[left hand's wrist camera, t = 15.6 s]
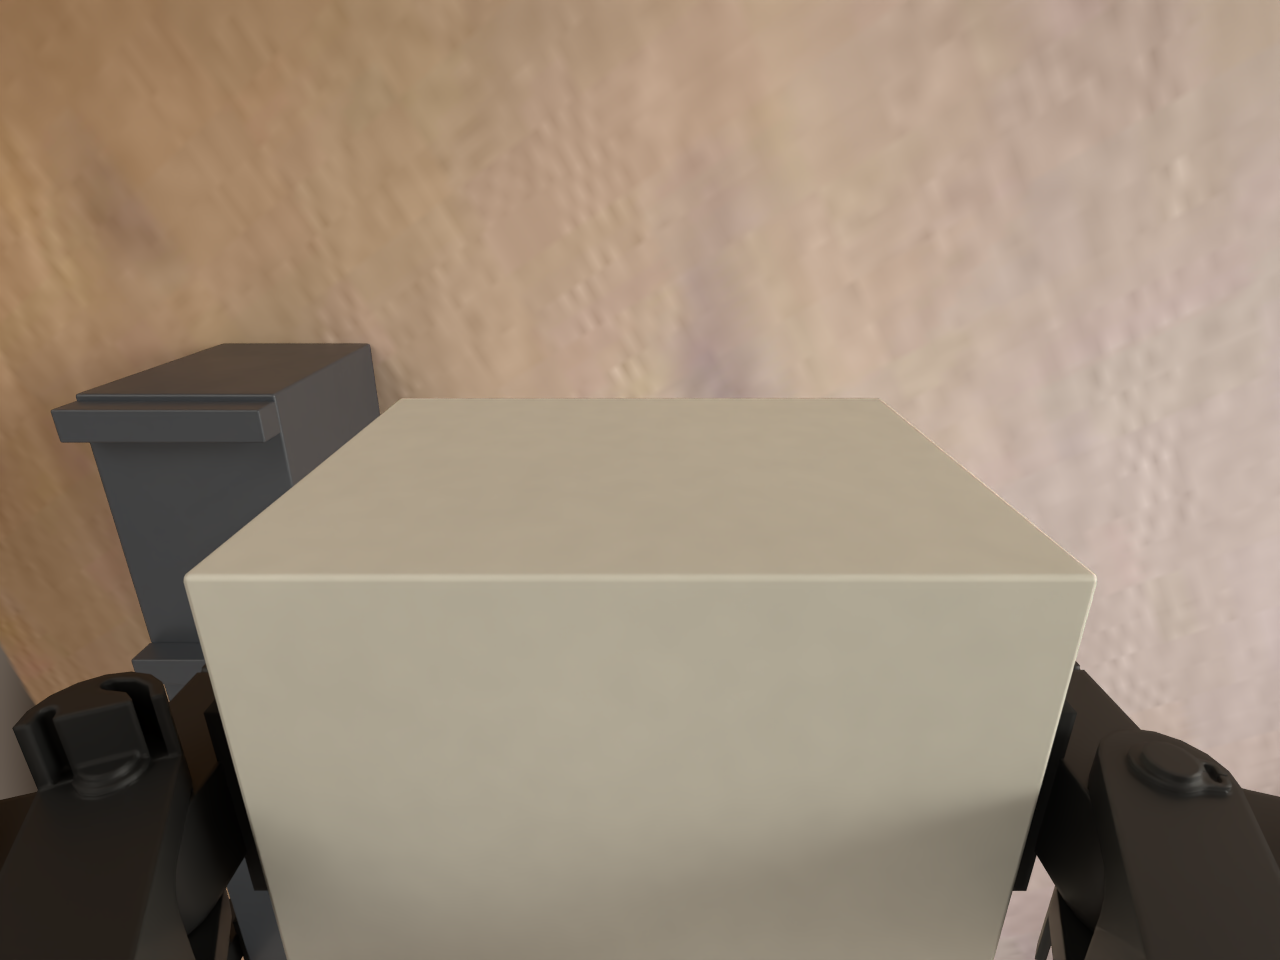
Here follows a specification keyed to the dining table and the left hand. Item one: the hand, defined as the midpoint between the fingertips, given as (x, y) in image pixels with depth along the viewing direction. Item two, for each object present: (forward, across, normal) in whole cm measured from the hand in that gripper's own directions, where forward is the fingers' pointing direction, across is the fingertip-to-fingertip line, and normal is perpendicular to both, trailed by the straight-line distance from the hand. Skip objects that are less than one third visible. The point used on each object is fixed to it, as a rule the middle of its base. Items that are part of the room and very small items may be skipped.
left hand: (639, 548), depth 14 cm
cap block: (-1, 0, 0) cm, 1 cm away
